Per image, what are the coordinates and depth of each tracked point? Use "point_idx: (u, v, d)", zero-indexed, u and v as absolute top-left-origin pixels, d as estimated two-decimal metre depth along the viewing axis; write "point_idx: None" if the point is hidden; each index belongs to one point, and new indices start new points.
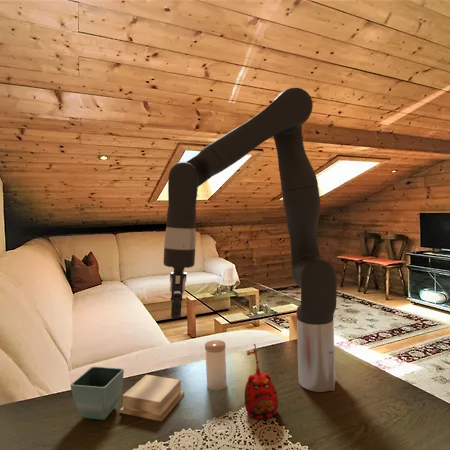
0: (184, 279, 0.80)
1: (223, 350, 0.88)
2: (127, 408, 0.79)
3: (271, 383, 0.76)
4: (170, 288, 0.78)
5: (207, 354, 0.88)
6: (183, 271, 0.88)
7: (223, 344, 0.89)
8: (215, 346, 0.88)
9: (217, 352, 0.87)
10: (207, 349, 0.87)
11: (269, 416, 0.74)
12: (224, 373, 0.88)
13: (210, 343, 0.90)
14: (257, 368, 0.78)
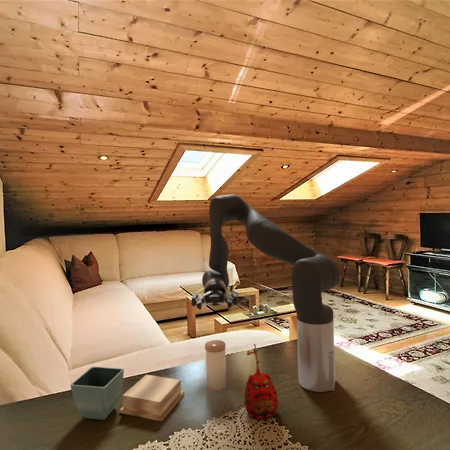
0: (207, 293, 1.08)
1: (223, 350, 0.88)
2: (127, 408, 0.79)
3: (271, 383, 0.76)
4: None
5: (207, 354, 0.88)
6: (232, 292, 1.09)
7: (223, 344, 0.89)
8: (215, 346, 0.88)
9: (217, 352, 0.87)
10: (207, 349, 0.87)
11: (269, 416, 0.74)
12: (224, 373, 0.88)
13: (210, 343, 0.90)
14: (257, 368, 0.78)
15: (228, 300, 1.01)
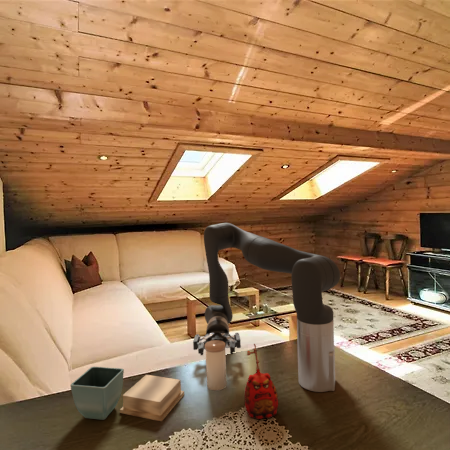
0: None
1: (223, 350, 0.88)
2: (127, 408, 0.79)
3: (271, 383, 0.76)
4: None
5: (207, 354, 0.88)
6: (235, 334, 1.05)
7: (223, 344, 0.89)
8: (215, 346, 0.88)
9: (217, 352, 0.87)
10: (207, 349, 0.87)
11: (269, 416, 0.74)
12: (224, 373, 0.88)
13: (210, 343, 0.90)
14: (257, 368, 0.78)
15: (231, 345, 0.98)
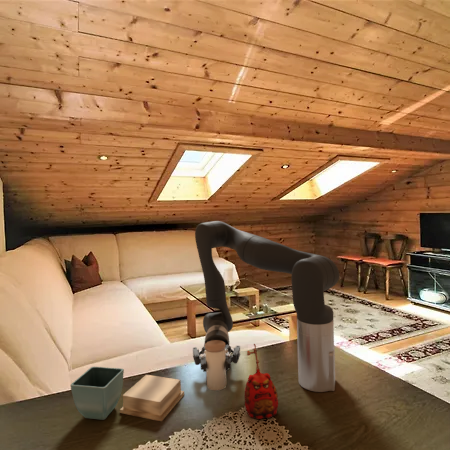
0: None
1: (223, 350, 0.88)
2: (127, 408, 0.79)
3: (271, 383, 0.76)
4: None
5: (207, 354, 0.88)
6: (235, 347, 0.96)
7: (223, 344, 0.89)
8: (215, 346, 0.88)
9: (217, 352, 0.87)
10: (207, 349, 0.87)
11: (269, 416, 0.74)
12: (224, 373, 0.88)
13: (210, 343, 0.90)
14: (257, 368, 0.78)
15: (226, 361, 0.88)
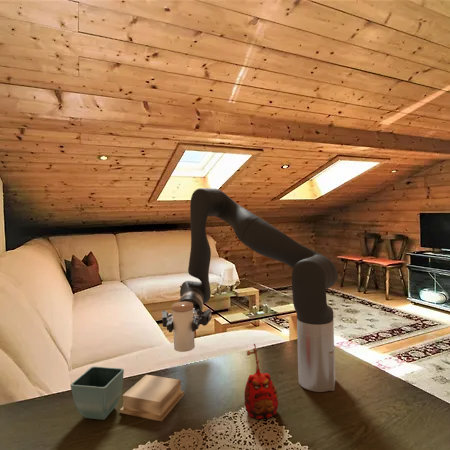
0: None
1: (190, 310, 0.84)
2: (127, 408, 0.79)
3: (271, 383, 0.76)
4: None
5: (173, 314, 0.84)
6: (206, 310, 0.92)
7: (190, 304, 0.85)
8: (182, 306, 0.84)
9: (184, 312, 0.83)
10: (173, 309, 0.84)
11: (269, 416, 0.74)
12: (191, 334, 0.84)
13: (177, 304, 0.86)
14: (257, 368, 0.78)
15: (193, 321, 0.84)
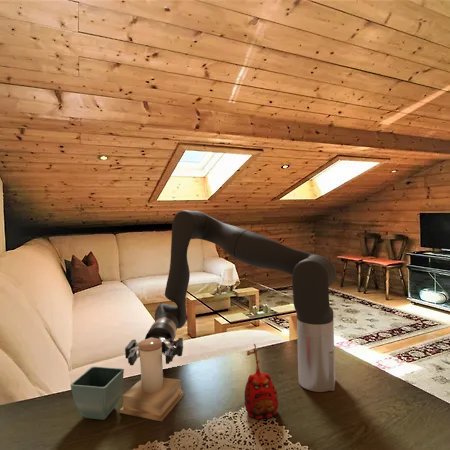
0: None
1: (158, 349, 0.80)
2: (127, 408, 0.79)
3: (271, 383, 0.76)
4: None
5: (140, 353, 0.80)
6: (178, 339, 0.89)
7: (159, 342, 0.81)
8: (149, 345, 0.80)
9: (151, 351, 0.79)
10: (140, 348, 0.80)
11: (269, 416, 0.74)
12: (159, 374, 0.81)
13: (145, 341, 0.82)
14: (257, 368, 0.78)
15: (167, 353, 0.81)
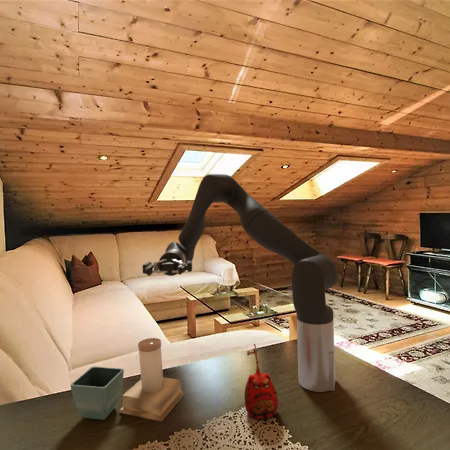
0: (161, 261, 1.02)
1: (157, 349, 0.80)
2: (127, 408, 0.79)
3: (271, 383, 0.76)
4: None
5: (140, 353, 0.80)
6: (188, 261, 1.02)
7: (158, 343, 0.81)
8: (148, 345, 0.80)
9: (150, 352, 0.79)
10: (139, 348, 0.80)
11: (269, 416, 0.74)
12: (159, 374, 0.81)
13: (145, 341, 0.82)
14: (257, 368, 0.78)
15: (179, 266, 0.94)
